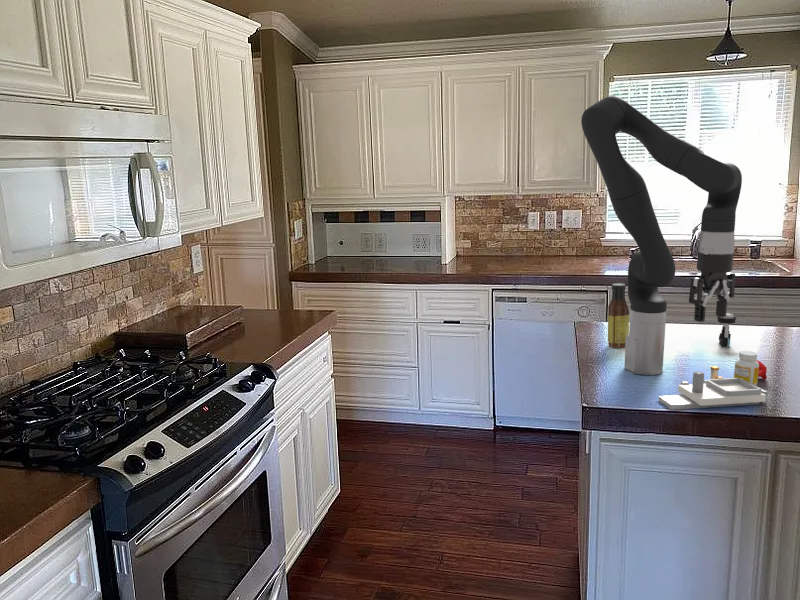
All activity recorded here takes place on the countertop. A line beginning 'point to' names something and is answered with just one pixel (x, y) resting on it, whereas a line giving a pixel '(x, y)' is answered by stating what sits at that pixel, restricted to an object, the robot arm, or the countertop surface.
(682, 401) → the index track
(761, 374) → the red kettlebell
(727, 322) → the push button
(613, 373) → the countertop surface
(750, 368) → the supplement bottle
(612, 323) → the sauce bottle
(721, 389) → the toothed carriage
